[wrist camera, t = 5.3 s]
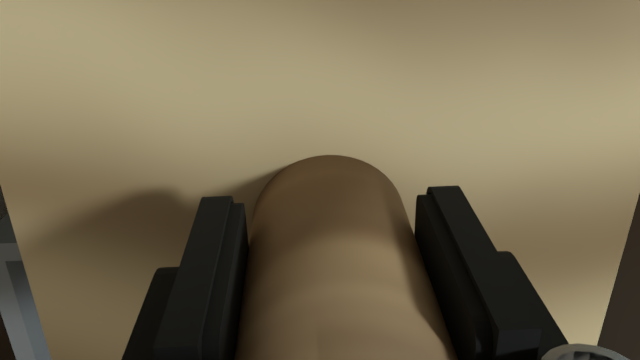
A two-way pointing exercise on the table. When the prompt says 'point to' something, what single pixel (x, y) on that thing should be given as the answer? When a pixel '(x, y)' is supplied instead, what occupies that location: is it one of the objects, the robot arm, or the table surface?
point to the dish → (18, 300)
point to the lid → (315, 158)
